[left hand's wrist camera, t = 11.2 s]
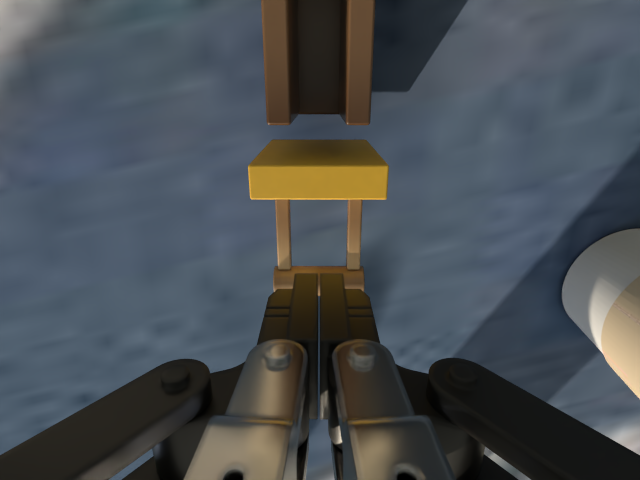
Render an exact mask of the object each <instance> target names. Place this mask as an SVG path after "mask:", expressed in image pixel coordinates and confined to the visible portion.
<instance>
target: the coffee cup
mask: <svg viewBox="0 0 640 480" xmlns="http://www.w3.org/2000/svg"><path fill="white" fill-rule="evenodd" d="M562 301H563V306H564V308H565V311H566V312H567V314H568V315H569V317H570V318H571V319H572V320H573V321H574V322H575V323H576V325H577V326H578V327H579V328H580V329H581V330H582V331H583V332H584V333H585V334H586V336H587V337H588V338H589V339H590V340H591V341H592V342H593V343H594V344H595V345H596V347H597V348H598V349H599V350H600V351H601V352H602V353H603V354H604V357H605V359H606V361H607V362H608V364H609V365H610V366H611V367H612V369H613V370H614V371H615V372H616V373H617V374H618V375H619V376H620V377H621V379H622V380H623V381H624V382H625V383H626V384H627V385H628V386H629V388H630V389H631V390H632V391H633V392H634V393H635V394H636V395H637V396H638V398H639V399H640V229H628V230H623V231H619V232H616V233H613V234H611V235H608V236H606V237H604V238H602V239H600V240H599V241H597V242H595V243H594V244H592V245H591V246H590V247H588V248H587V249H586V250H585V251H584V252H583V253H582V254H581V255H580V256H579V257H578V258H577V259H576V260H575V262H574V263H573V264H572V266H571V267H570V269H569V271H568V273H567V275H566V277H565V280H564V283H563V288H562Z"/></svg>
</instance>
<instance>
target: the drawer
mask: <svg viewBox="0 0 640 480" xmlns="http://www.w3.org/2000/svg"><path fill="white" fill-rule="evenodd" d="M375 1H376V0H261V6H262V28H263V49H264V71H265V92H266V114H267V123H268V124H269V125H289V124H291V123H292V122H293V120H294V119H295V118H296V117H297V115H298V114H340V116H341V117H342V119H343V120H344V121H345V123H346V124H347V125H368V124H370V114H371V91H372V68H373V46H374V23H375ZM248 171H249V186H250V198H251V199H275V205H276V229H277V253H278V266H275V268H274V277H273V287H274V292H275V291H276V290H277V289H293V283H294V275H295V273H318V296H320V273H343V276H344V284H345V289H361V290H362V291H363V292H364V269H363V266H360V249H361V224H362V199H386V198H387V187H388V172H389V166H388V164H387V163H386V162H385V161H384V160H383V159H382V158H381V156H380V155H379V154H378V153H377V152H376V151H375V150H374V148H373V147H372V146H371V145H370V144H369V143H368V142H367V140H272V141H271V142H270V143H269V144H268V145H267V146H266V147H265V148H264V149H263V150H262V151H261V152H260V154H259V155H258V156H257V157H256V158H255V159H254V160H253V161H252V162H251V163H250V164H249V166H248ZM290 199H348V217H347V254H346V266H291V265H292V258H291V223H290Z"/></svg>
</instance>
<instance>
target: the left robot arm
mask: <svg viewBox="0 0 640 480" xmlns="http://www.w3.org/2000/svg"><path fill="white" fill-rule="evenodd" d="M317 404H318V273H295V275H294V283H293V289H277V290H276V291H275V292H274V293H273V294H271V295H270V296H269V298H268V302H267V306H266V310H265V314H264V318H263V322H262V326H261V330H260V334H259V338H258V342H257V346H255V347H254V348H253V349H252V350H251V351H250V352H249V354H248V356H247V359H246V361H245V362H244V363H242V364H240V365H238V366H236V367H234V368H231V369H227V370H223V371H219V372H214V373H210V371H209V369H208V367H207V366H206V365H205V364H204V363H202V362H200V361H198V360H194V359H178V360H173V361H170V362H167V363H164V364H162V365H160V366H158V367H156V368H154V369H153V370H151V371H149V372H147V373H145V374H144V375H142V376H140V377H138V378H137V379H135V380H133V381H131V382H129V383H128V384H126V385H124V386H122V387H121V388H119V389H117V390H115V391H114V392H112V393H110V394H108V395H106V396H105V397H103V398H101V399H99V400H98V401H96V402H94V403H92V404H90V405H89V406H87V407H85V408H83V409H82V410H80V411H78V412H76V413H75V414H73V415H71V416H69V417H67V418H66V419H64V420H62V421H60V422H59V423H57V424H55V425H53V426H51V427H50V428H48V429H46V430H44V431H43V432H41V433H39V434H37V435H35V436H34V437H32V438H30V439H28V440H27V441H25V442H23V443H21V444H20V445H18V446H16V447H14V448H12V449H11V450H9V451H7V452H5V453H4V454H2V455H0V480H109V479H110V478H111V477H113V476H114V475H116V474H117V473H118V472H120V471H121V470H122V469H124V468H125V467H127V466H128V465H129V464H131V463H132V462H134V461H135V460H136V459H138V458H139V457H140V456H142V455H143V454H145V453H146V452H147V451H149V450H150V449H152V450H153V455H154V456H153V457H152V458H150V459H149V460H148V461H146V462H145V463H144V464H142V465H141V466H140V467H138V468H137V469H135V470H134V471H133V472H131V473H130V474H129V475H127V476H126V477H125V478H123V479H122V480H305V478H306V469H307V461H308V452H309V419H317ZM320 419H328V431H329V436H330V438H331V452H332V461H333V469H334V478H335V480H518V479H517V478H515V477H514V476H513V475H511V474H510V473H509V472H507V471H506V470H504V469H503V468H502V467H500V466H499V465H498V464H496V463H495V462H494V461H492V460H491V459H490V458H488V457H487V456H486V455H484V450H485V446H486V447H487V448H488V449H490V450H491V451H493V452H494V453H495V454H497V455H498V456H500V457H501V458H502V459H504V460H505V461H506V462H508V463H509V464H511V465H512V466H513V467H515V468H516V469H518V470H519V471H520V472H522V473H523V474H524V475H526V476H527V477H529V478H530V479H531V480H640V455H638V454H636V453H635V452H633V451H631V450H629V449H628V448H626V447H624V446H622V445H620V444H619V443H617V442H615V441H613V440H612V439H610V438H608V437H606V436H604V435H603V434H601V433H599V432H597V431H596V430H594V429H592V428H590V427H589V426H587V425H585V424H583V423H581V422H580V421H578V420H576V419H574V418H573V417H571V416H569V415H567V414H565V413H564V412H562V411H560V410H558V409H557V408H555V407H553V406H551V405H550V404H548V403H546V402H544V401H542V400H541V399H539V398H537V397H535V396H534V395H532V394H530V393H528V392H526V391H525V390H523V389H521V388H519V387H518V386H516V385H514V384H512V383H511V382H509V381H507V380H505V379H503V378H502V377H500V376H498V375H496V374H495V373H493V372H491V371H489V370H487V369H486V368H484V367H482V366H480V365H478V364H476V363H474V362H471V361H468V360H465V359H459V358H446V359H441V360H438V361H436V362H435V363H434V364H432V366H431V367H430V369H429V374H427V373H422V372H418V371H413V370H409V369H406V368H403V367H400V366H398V365H396V364H395V361H394V359H393V356H392V354H391V352H390V351H389V350H388V349H387V348H386V347H385V346H383V345H381V344H380V341H379V337H378V332H377V328H376V324H375V320H374V317H373V311H372V307H371V303H370V298H369V297H368V296H367V295H366V294H365V293H364V292H363V291H362V290H361V289H345V284H344V276H343V273H320Z"/></svg>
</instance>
